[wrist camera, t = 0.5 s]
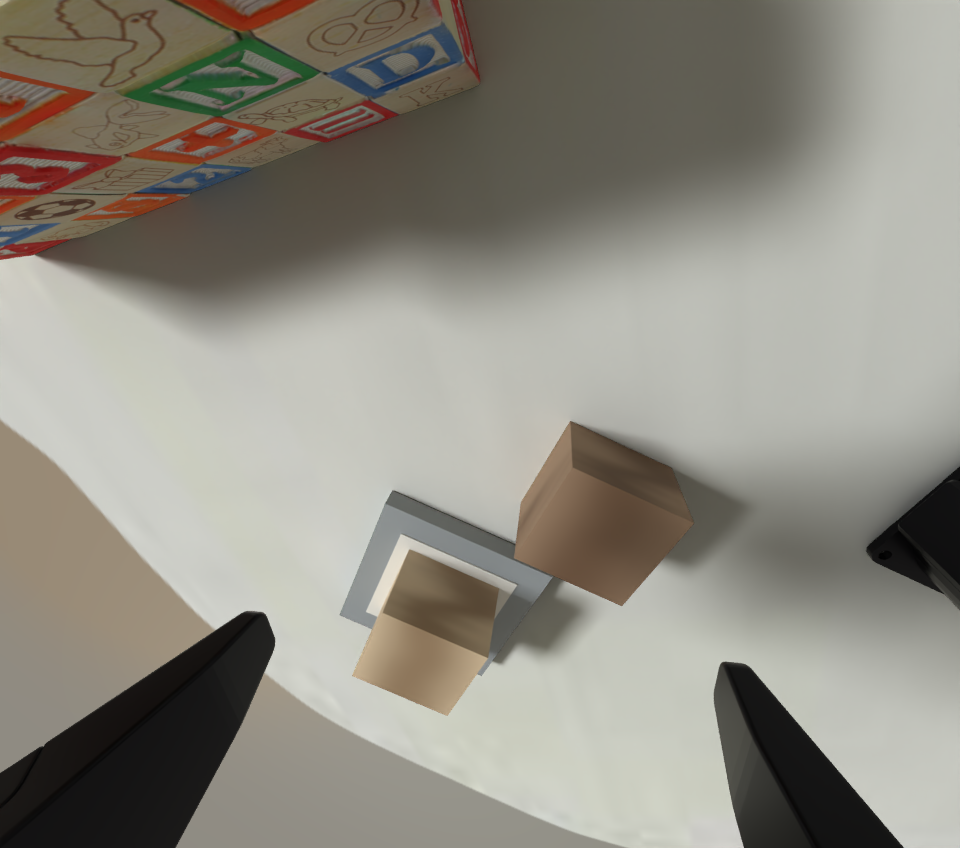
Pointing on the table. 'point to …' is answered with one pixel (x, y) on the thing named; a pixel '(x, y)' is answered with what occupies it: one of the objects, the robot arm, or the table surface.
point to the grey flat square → (448, 545)
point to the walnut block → (600, 515)
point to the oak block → (430, 634)
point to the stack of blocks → (195, 96)
